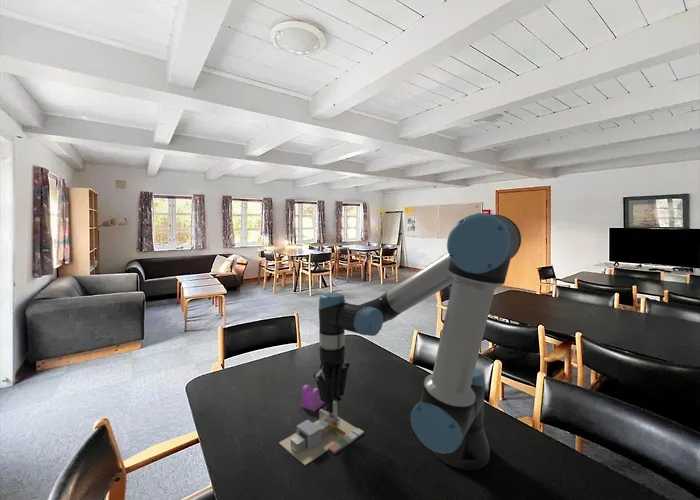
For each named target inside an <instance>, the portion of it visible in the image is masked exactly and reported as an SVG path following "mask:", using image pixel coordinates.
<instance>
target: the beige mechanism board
mask: <svg viewBox="0 0 700 500" xmlns="http://www.w3.org/2000/svg"><path fill="white" fill-rule="evenodd" d="M338 419H340V429H341V430H342V431H344V432H345V435H344V436H343V435H342V434H340V435H338V436H337V435H335V434H333V433H332V432H330V433H329V434H327V435H326V436H324V437H323V438H321V428H319V427H318V426H316V424H317V423H319V419H317V420H316V421H314V422H312V421H310V420H309V419H306V420H304V421H302V422H301V423H299V424H297V425H296V432H295V433H293V434H291V435H289V436H288V437H287V438H284V439H283V440H281V441H279V442H278V444H279V446H281V447H282V448H284V450H286V451H287V452H288V453H289V454H291V455H292V456H293V457H294V458H295V459H297V461H299V462H300V463H301V464H302V465H304V467H305V466H307V465H309V464H310V463H311V462H313V461H314V460H315V459H317V458H319V457H320V456H322V455H323V454H325V453H326V452H327V451H329V452H330V453H332V454H334V455H335V454H337V453H338V452H339V451H341V450H343V449H344V448H345V447H347V446H348V445H350V444H351V443H352V442H354V441H356V439H358V438H359V437H361V436H362V435H364V433H365V431H364V430H362V429H361V428H359V427H355V426H354V425H352V424H350V423H349V422H347V420H344V419H342V418H341V417H339V416H338ZM300 433H304V434H305V435H306V436H307V448H305V449H304V450H302V451H301V452H299V453H296V452H295V451H293V450H292V449H291V440H290V439H292V438H294V437H295V436H297V435H299V434H300Z"/></svg>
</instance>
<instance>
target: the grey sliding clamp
mask: <svg viewBox="0 0 700 500" xmlns="http://www.w3.org/2000/svg"><path fill="white" fill-rule="evenodd" d="M318 416H319V417H318V418H319V419H318V420H319V423H317V424H316V426H318V427H319V428H321V438H323V437H324V436H326V435H327V434H329V433H330V432H332V433H333V434H335V435H337V436H338V435H340V434H342V435H343V436H344V435H345V432H344V431H342V430H341V429H340V419H338V418H336V417H335V416H333V415H331V414H330V413H328V412H327V411H326V410H324V408H319V410H318ZM290 440H291V449H292V450H293V451H295V452H296V453H299V452H301V451H302V450H304V449H305V448H307V436H306V435H305V434H304V433H300V434H299V435H297V436H295V437H294V438H292V439H290Z"/></svg>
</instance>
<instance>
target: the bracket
mask: <svg viewBox="0 0 700 500" xmlns="http://www.w3.org/2000/svg"><path fill="white" fill-rule="evenodd" d="M300 398H301V403H300V404H301V406H300V407H301V408H304V409H306V410H309V411H312V412H317V410H318V409H321V407H322V406H323V405H325V403H324V402H323V401H321V399H320V394H319V390H318V387H314V388H313V389H312V387H311V385H309V384H304V385H303V386H302V387H301V390H300Z"/></svg>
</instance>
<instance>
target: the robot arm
mask: <svg viewBox="0 0 700 500" xmlns="http://www.w3.org/2000/svg"><path fill="white" fill-rule="evenodd" d="M521 245H522V234H521V231H520V228H519V226H518V225H517V224H516V223H515V222H514V221H513V220H511V219H510V218H509V217H507V216H504V215H501V214H491V213H485V212H484V213H483V212H479V213H474V214H473V213H472V214H469V215H468V216H465V217H463V218H461V219H460V220H459V221H457V222H456V223H455V224H454V225H453V227H452V228H451V230H450V232H449V234H448V237H447V242H446V248H447V252H446V253H445V254H443V255H441V256H440V257H438V258H437V259H436V260H434V261H433V262H431V263H430V264H428V265H426V266H425V267H423V268H422V269H420V270H419V271H417V272H415V273H414V274H413V275H411V276H410V277H408V278H406V279H404V280H403V281H401V283H398V284H397V285H395V286H394V287H393V288H391V289H389V290H388V291H387V292H384V293H383V294H382V295H380V296H379V297H377V298H375V299H372V300H369V301H366V302H363V303H360V304H354V303H353V304H352V303H348V302H346V300H345V295H344V294H343V293H339V292H326V293H323V294H321V295H320V296H319V298H318V299H319V302H318V317H319V318H318V320H319V321H318V323H319V324H318V325H319V326H318V327H319V330H318V334H319V337H318V338H319V340H318V341H319V347H318V348H319V359H320V364H319V365H320V366H319V370H318V371H317V373H316V372H314V373H313V377H314V379H315V381H316V384H317V388H318V390H319V394H320V399H321V401H323V402H324V404H325V406H326V410H325V411H327V412H328V413H330V414H331V415H333V416H335V417H336V418H338V417H339V416H338V415H339V414H338V412H339V411H338V410H339V407H340V406H339V405H340V404H339V403H340V402H341V401H342V397H343V396H344V394H345V391H346V390H345V388H346V381H347V375H348V370H349V369H350V362H348V361H345V356H346V355H345V353H346V352H345V347H346V346H345V345H346V344H345V341H346V340H345V337H346V336H345V334H346V332H345V331H347V332H352V333H355V334H359V335H363V336H370V337H374V336H375V337H376V335H378V334H379V332H380V331H381V330H382V328H383V324H384V323H386V322H389V321H391V320H394V319H395V318H396V317H398V316H399V315H401V314H402V313H403V312H405V311H408V310H409V309H410V308H411V309H412V308H413V307H414V306H416V305H418V304H420V303H422V302H423V301H425V300H426V299H428V298H429V297H431V296H433V295H435V294H437V293H439V292H440V291H441V290H443V289H446V288H447V287H449V286H450V285H451V288H450V293H449V297H448V302H447V306H446V311H445V316H444V320H443V325H442V328H441V329H442V330H441V334H440V339H439V343H438V347H437V352H436V356H435V357H436V358H435V361H434V364H433V365H434V366H433V371H432V374H431V373H430V374H429V375H427V376H426V377H425V378H424V381H423V385H422V388H421V389H422V390H421V394H420V399H419V401H418V402H417V403H416V404H415V405H414V406H413V408H412V410H411V413H410V419H409V420H410V425H411V428H412V431H413V432H414V434H416V438H417V439H418V440H419V441H420V443H422V444H423V446H425V447H426V448H427V449H429V450H431V451H432V452H433V454H434V455H435V457H436V458H438V459H439V460H440V461H441V462H442V463H444V464H445V465H448V466H450V467H452V468H455V469H458V470H462V471H463V470H464V471H475V470H480V469H482V468H484V467H485V466H487V464H488V463H489V462H490V455H491V454H490V452H491V451H490V445H489V441H488V439H487V436H486V435H487V434H486V432H485V429H484V416H485V415H484V414H485V411H484V410H485V387H486V384H485V376H484V374H483V373H482V372H481V371H480V370H478V369H477V368H476V366H477V363H478V359H479V354H480V350H481V347H482V343H483V338H484V335H485V330H486V327H487V322H488V317H489V314H490V309H491V306H492V301H493V299H494V298H493V297H494V293H495V290H496V289H498V288H499V287H501V286H503V285H505V283H506V278H507V276H508V275H507V274H508V272H509V267H510V263H511V259H513V258H514V257H515V256H516V255H517V253H518V252H519V250H520V248H521ZM341 396H342V397H341Z"/></svg>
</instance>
